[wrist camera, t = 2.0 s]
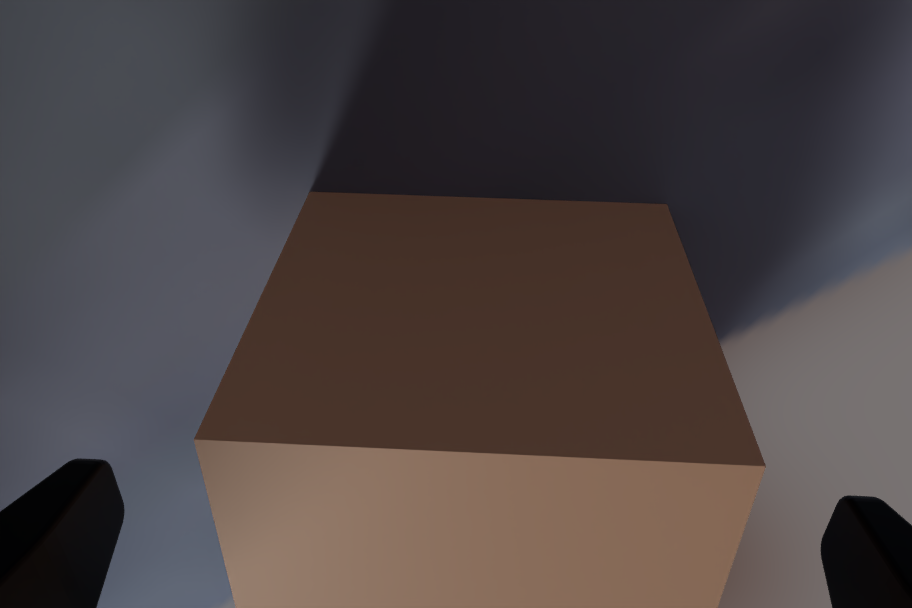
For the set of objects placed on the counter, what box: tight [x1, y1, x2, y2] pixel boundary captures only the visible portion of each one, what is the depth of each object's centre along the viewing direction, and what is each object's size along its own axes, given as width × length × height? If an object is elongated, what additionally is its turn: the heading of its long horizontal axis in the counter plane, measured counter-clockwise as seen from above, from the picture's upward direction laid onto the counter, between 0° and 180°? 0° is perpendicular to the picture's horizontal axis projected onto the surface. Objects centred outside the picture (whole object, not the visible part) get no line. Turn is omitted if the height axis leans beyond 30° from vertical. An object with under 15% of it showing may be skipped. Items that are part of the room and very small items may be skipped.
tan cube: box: [194, 192, 766, 608], centre depth 10 cm, size 5×5×5 cm
